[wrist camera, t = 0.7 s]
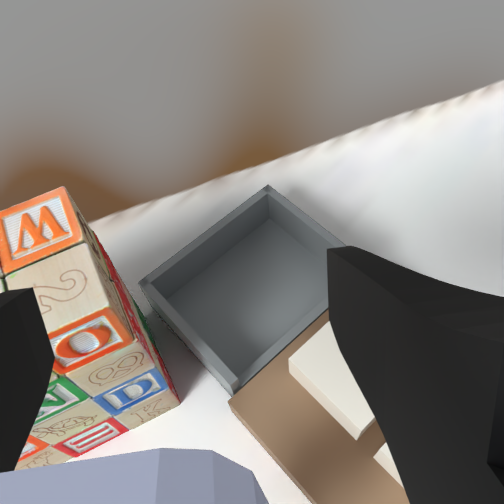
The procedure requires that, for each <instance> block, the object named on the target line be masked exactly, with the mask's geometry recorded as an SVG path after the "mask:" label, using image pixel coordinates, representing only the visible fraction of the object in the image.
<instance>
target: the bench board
mask: <svg viewBox="0 0 504 504" xmlns="http://www.w3.org/2000/svg"><path fill="white" fill-rule="evenodd" d="M327 322H329V310H327V311H326V312H325V313H323V314H322V315H321V316H320V317H319V318H318V319H317V320H316V321H315V322H314V323H313V324H311V325H310V326H309V327H308V328H307V329H306V330H305V331H304V332H303V333H302V334H301V335H299V336H298V337H297V338H296V339H295V340H294V341H293V342H292V343H291V344H290V345H289V346H287V347H286V348H285V349H284V350H283V351H282V352H281V353H280V354H279V355H278V356H277V357H275V358H274V359H273V360H272V361H271V362H270V363H269V364H268V365H267V366H266V367H265V368H263V369H262V370H261V371H260V372H259V373H258V374H257V375H256V376H255V377H254V378H253V379H251V380H250V381H249V382H248V383H247V384H246V385H245V386H244V387H243V388H242V389H241V390H239V391H238V392H237V393H236V394H235V395H234V396H233V397H232V398H231V399H230V400H229V401H228V403H229V406H230V408H231V410H232V412H233V413H234V414H235V416H236V417H237V418H238V419H239V420H240V421H241V422H242V424H243V425H244V426H245V427H246V428H247V429H248V430H249V432H250V433H251V434H252V435H253V436H254V437H255V439H256V440H257V441H258V442H259V443H260V444H261V445H262V447H263V448H264V449H265V450H266V451H267V452H268V453H269V455H270V456H271V457H272V458H273V459H274V460H275V462H276V463H277V464H278V465H279V466H280V467H281V468H282V470H283V471H284V472H285V473H286V474H287V475H288V476H289V478H290V479H291V480H292V481H293V482H294V483H295V485H296V486H297V487H298V488H299V489H300V490H301V491H302V493H303V494H304V495H305V496H306V497H307V498H308V499H309V501H310V502H311V503H312V504H410V503H409V500H408V498H407V495H406V492H405V489H404V488H403V487H402V486H401V485H400V484H399V483H398V482H397V481H396V480H395V479H394V478H393V477H392V476H391V475H390V474H389V473H388V472H387V471H386V470H385V469H384V468H383V467H382V466H381V465H380V464H379V463H378V462H377V461H376V460H375V459H374V458H373V457H374V456H375V454H376V453H377V452H378V451H379V449H380V448H381V447H382V446H383V445H384V444H385V443H386V440H385V438H384V435H383V433H382V431H381V429H380V427H379V425H378V423H377V420H375V421H374V422H373V423H372V425H371V426H370V427H369V428H368V429H367V430H366V431H365V432H364V433H363V434H362V435H361V436H360V437H359V438H358V440H357V441H356V440H355V439H354V438H353V436H352V435H351V434H350V433H349V432H348V431H347V430H346V429H345V428H344V427H343V426H342V425H341V424H340V423H339V422H338V421H337V420H336V419H335V418H334V417H333V416H332V415H331V414H330V413H329V412H328V411H327V410H326V409H325V408H324V407H323V406H322V405H321V404H320V403H319V402H318V401H317V400H316V399H315V398H314V397H313V396H312V395H311V394H310V393H309V392H308V391H307V390H306V389H305V388H304V387H303V386H302V385H301V384H300V383H299V382H298V381H297V380H296V379H295V378H294V377H293V376H292V375H291V374H290V373H289V358H290V357H291V356H292V355H293V354H294V353H295V352H296V351H297V350H298V349H299V348H301V347H302V346H303V345H304V344H305V343H306V342H307V341H308V340H309V339H310V338H311V337H312V336H313V335H315V334H316V333H317V332H318V331H319V330H320V329H321V328H322V327H323V326H324V325H325V324H326V323H327Z"/></svg>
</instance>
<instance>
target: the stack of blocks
mask: <svg viewBox="0 0 504 504" xmlns="http://www.w3.org/2000/svg"><path fill="white" fill-rule="evenodd" d="M31 287H33V289H34V292H35V296H36V299H37V302H38V305H39V308H40V311H41V315H42V318H43V321H44V324H45V327H46V330H47V334H48V337H49V340H50V343H51V346H52V349H53V352H54V356H55V360H54V365H53V369H52V374H51V378H50V382H49V385H48V389H47V393H46V395H45V398H44V401H43V403H42V405H41V408H40V410H39V413H38V415H37V418H36V420H35V422H34V425H33V427H32V430H31V432H30V434H29V437H28V439H27V441H26V444H25V446H24V448H23V451H22V453H21V455H20V458H19V460H18V462H17V465H16V467H15V470H14V471H16V470H22V469H29V468H35V467H42V466H48V465H55V464H61V463H64V462H66V461H67V460H69V459H71V458H73V457H78V456H80V455H82V454H84V453H86V452H88V451H90V450H92V449H94V448H96V447H98V446H100V445H102V444H104V443H105V442H108V441H110V440H111V439H113V438H115V437H117V436H119V435H121V434H123V433H125V432H127V431H129V430H131V429H134V428H136V427H138V426H140V425H142V424H144V423H146V422H148V421H150V420H152V419H154V418H156V417H158V416H160V415H161V414H163V413H165V412H167V411H169V410H171V409H173V408H175V407H177V406H179V405H180V400H179V398H178V395H177V393H176V391H175V388H174V386H173V384H172V381H171V379H170V376H169V374H168V372H167V369H166V367H165V365H164V362H163V360H162V358H161V356H160V355H159V353H158V350H157V348H156V345H155V343H154V340H153V338H152V335H151V333H150V331H149V328H148V326H147V324H146V321H145V318H144V316H143V314H142V312H141V311H140V309H139V307H138V306H137V304H136V303H135V301H134V300H133V298H132V296H131V295H130V293H129V291H128V290H127V288H126V286H125V284H124V283H123V281H122V279H121V278H120V276H119V274H118V273H117V271H116V269H115V268H114V266H113V264H112V262H111V260H110V258H109V256H108V255H107V253H106V252H105V250H104V248H103V246H102V244H101V243H100V242H99V240H98V238H97V236H96V234H95V233H94V231H93V230H91V229H90V227H89V226H88V224H87V222H86V221H85V219H84V218H83V216H82V214H81V213H80V211H79V209H78V208H77V206H76V204H75V203H74V201H73V199H72V198H71V196H70V194H69V193H68V191H67V190H66V188H65V187H63V186H62V187H59V188H57V189H55V190H52V191H50V192H47V193H45V194H42V195H40V196H37V197H35V198H33V199H30V200H28V201H25V202H22V203H20V204H17V205H14V206H12V207H10V208H8V209H5V210H3V211H0V293H2V292H5V291H8V290H15V289H23V288H31Z"/></svg>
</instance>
